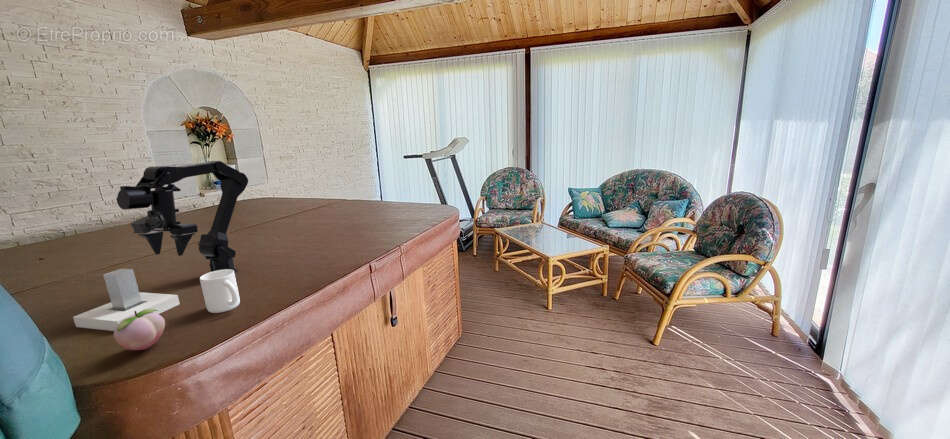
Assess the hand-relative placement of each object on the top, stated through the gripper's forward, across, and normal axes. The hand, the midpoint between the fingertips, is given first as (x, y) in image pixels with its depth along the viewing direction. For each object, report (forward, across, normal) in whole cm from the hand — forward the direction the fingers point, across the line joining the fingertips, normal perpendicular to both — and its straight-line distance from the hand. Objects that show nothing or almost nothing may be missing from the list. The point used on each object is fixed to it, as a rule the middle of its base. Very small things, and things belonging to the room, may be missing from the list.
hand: (169, 254), depth 118 cm
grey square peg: (+14, +2, -14) cm, 20 cm away
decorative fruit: (+16, +26, -27) cm, 41 cm away
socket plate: (+14, +2, -14) cm, 20 cm away
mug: (+14, +28, -6) cm, 31 cm away
